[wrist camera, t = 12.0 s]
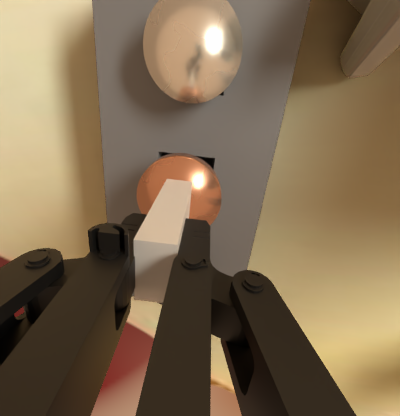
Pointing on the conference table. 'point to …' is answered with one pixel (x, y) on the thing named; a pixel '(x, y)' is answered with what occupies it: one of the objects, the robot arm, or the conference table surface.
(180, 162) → the plunger terracotta
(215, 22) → the plunger ivory
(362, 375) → the conference table surface
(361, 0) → the digital clock
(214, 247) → the panel
